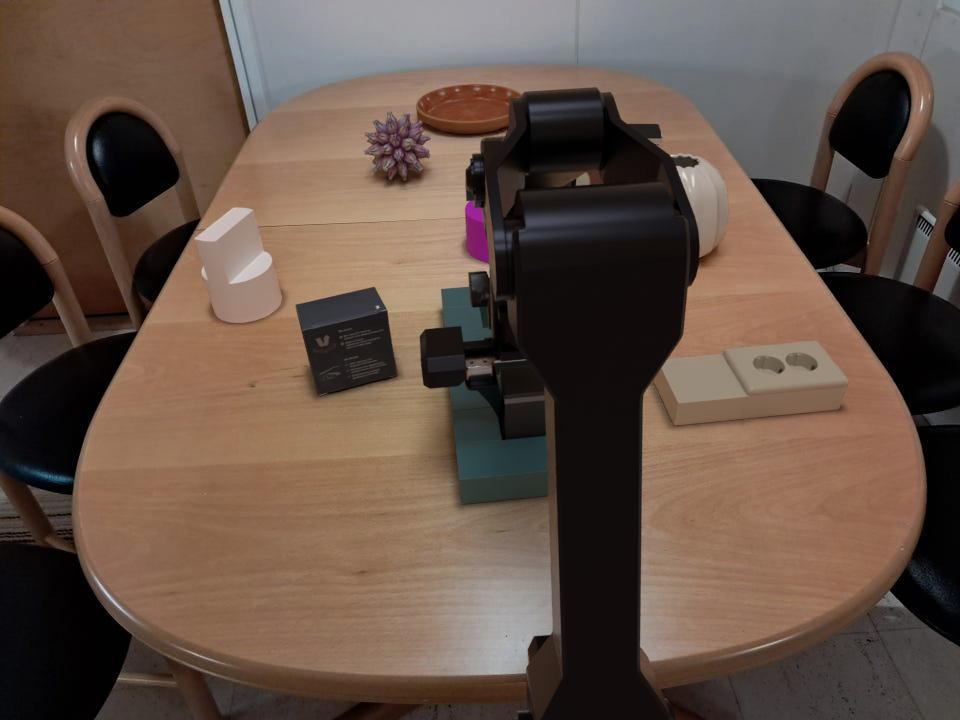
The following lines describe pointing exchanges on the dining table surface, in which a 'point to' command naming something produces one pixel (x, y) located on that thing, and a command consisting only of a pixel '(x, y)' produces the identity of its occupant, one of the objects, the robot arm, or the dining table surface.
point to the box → (347, 340)
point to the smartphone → (649, 132)
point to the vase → (705, 198)
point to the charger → (522, 403)
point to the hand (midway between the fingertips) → (523, 416)
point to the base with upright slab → (238, 268)
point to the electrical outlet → (751, 383)
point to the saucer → (467, 108)
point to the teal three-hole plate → (488, 426)
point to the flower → (397, 145)
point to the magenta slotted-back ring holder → (476, 233)
